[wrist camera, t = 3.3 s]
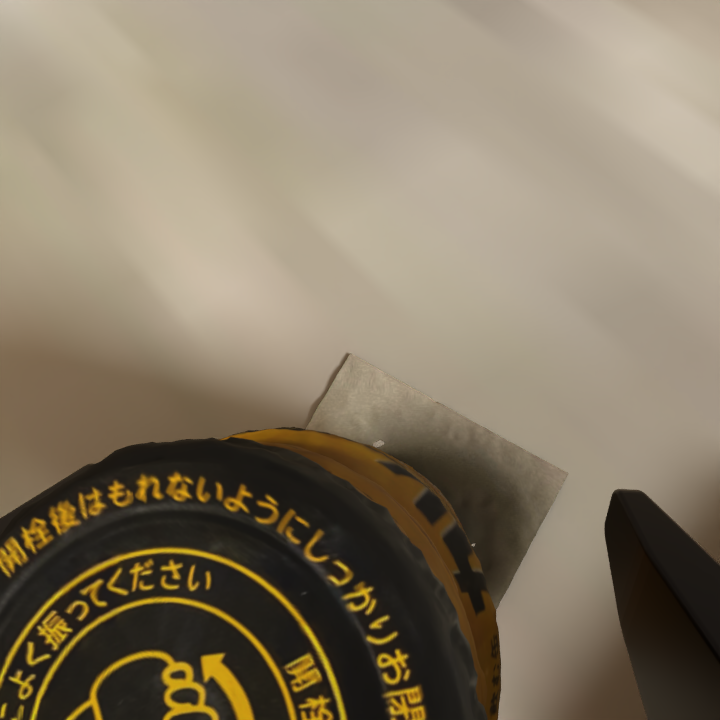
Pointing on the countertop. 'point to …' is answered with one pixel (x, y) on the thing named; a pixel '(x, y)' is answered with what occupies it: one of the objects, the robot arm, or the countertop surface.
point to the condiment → (276, 570)
